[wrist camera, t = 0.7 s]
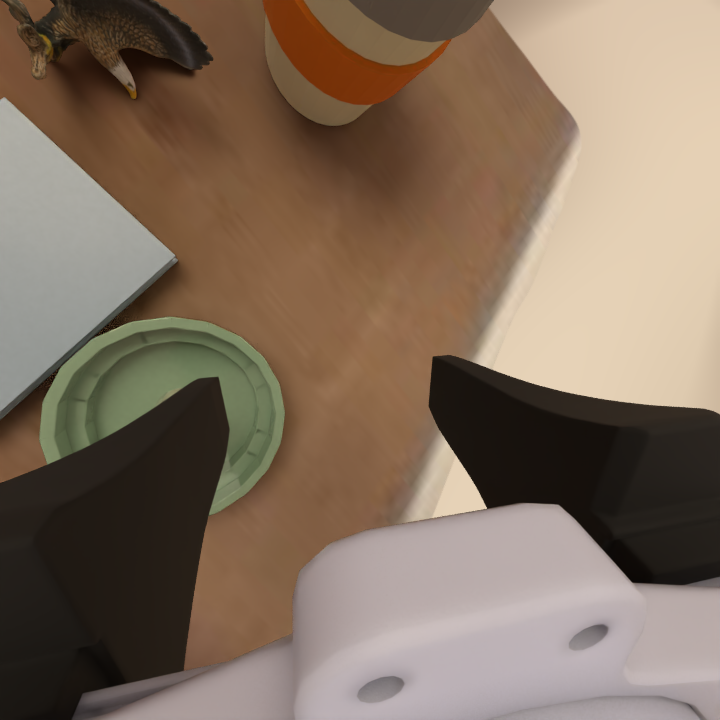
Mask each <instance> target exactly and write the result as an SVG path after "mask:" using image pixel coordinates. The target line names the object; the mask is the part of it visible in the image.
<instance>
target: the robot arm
mask: <svg viewBox="0 0 720 720" xmlns="http://www.w3.org/2000/svg"><path fill="white" fill-rule="evenodd" d="M429 408H430V411H431V413H432V415H433V418H434V420H435V422H436V424H437V426H438V428H439V430H440V431H441V433H442V435H443V436H444V438H445V439H446V441H447V442H448V444H449V445H450V447H451V448H452V450H453V451H454V453H455V455H456V456H457V457H458V459H459V460H460V462H461V463H462V465H463V467H464V468H465V470H466V471H467V473H468V474H469V476H470V477H471V479H472V481H473V482H474V484H475V486H476V487H477V489H478V491H479V493H480V495H481V497H482V499H483V501H484V503H485V505H486V507H487V509H483V510H477V511H472V512H466V513H460V514H455V515H449V516H443V517H437V518H431V519H425V520H420V521H414V522H408V523H402V524H396V525H391V526H385V527H379V528H373V529H367V530H364V531H361V532H358V533H355V534H353V535H350V536H347V537H344V538H342V539H339V540H336V541H333V542H331V543H330V544H328V545H327V546H326V547H325V548H324V549H323V550H322V551H321V552H320V553H318V554H317V555H316V556H315V557H314V558H313V559H312V560H311V561H310V562H308V563H307V564H306V565H305V566H304V567H303V568H302V569H301V570H300V571H299V575H298V578H297V582H296V586H295V590H294V594H293V633H292V634H289V635H287V636H285V637H282V638H280V639H278V640H275V641H273V642H271V643H269V644H266V645H264V646H262V647H259V648H257V649H255V650H252V651H250V652H248V653H246V654H243V655H241V656H239V657H236V658H234V659H232V660H229V661H227V662H222V663H218V664H213V665H209V666H204V667H200V668H195V669H190V670H186V671H184V662H185V654H186V646H187V639H188V631H189V624H190V617H191V610H192V602H193V596H194V590H195V584H196V577H197V571H198V565H199V559H200V554H201V548H202V543H203V537H204V532H205V528H206V524H207V520H208V516H209V513H210V509H211V506H212V503H213V499H214V496H215V493H216V489H217V486H218V482H219V479H220V476H221V472H222V469H223V465H224V462H225V458H226V454H227V447H228V440H229V432H230V428H229V423H228V419H227V414H226V409H225V404H224V400H223V395H222V390H221V386H220V381H219V376H218V377H207V378H198V379H196V380H194V381H192V382H191V383H189V384H188V385H186V386H185V387H183V388H182V389H180V390H179V391H178V392H176V393H175V394H173V395H172V396H170V397H169V398H168V399H166V400H165V401H163V402H162V403H160V404H159V405H157V406H156V407H154V408H153V409H151V410H150V411H148V412H147V413H145V414H143V415H142V416H140V417H139V418H137V419H136V420H134V421H132V422H131V423H129V424H128V425H126V426H124V427H123V428H121V429H119V430H117V431H116V432H114V433H112V434H110V435H108V436H107V437H105V438H103V439H101V440H99V441H97V442H95V443H93V444H91V445H89V446H87V447H85V448H83V449H81V450H79V451H77V452H74V453H72V454H70V455H68V456H65V457H63V458H61V459H59V460H56V461H54V462H52V463H50V464H48V465H45V466H43V467H41V468H38V469H36V470H33V471H31V472H28V473H26V474H23V475H21V476H18V477H16V478H13V479H10V480H8V481H5V482H2V483H0V720H720V414H718V413H716V412H714V411H710V410H707V409H700V408H685V407H669V406H653V405H643V404H634V403H625V402H618V401H611V400H604V399H598V398H592V397H587V396H581V395H576V394H571V393H566V392H562V391H558V390H554V389H550V388H546V387H542V386H539V385H535V384H532V383H528V382H525V381H523V380H519V379H516V378H513V377H510V376H507V375H505V374H502V373H499V372H496V371H494V370H491V369H489V368H486V367H483V366H481V365H478V364H476V363H473V362H470V361H468V360H465V359H462V358H459V357H455V356H451V355H445V356H434V357H433V359H432V371H431V383H430V395H429Z"/></svg>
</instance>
